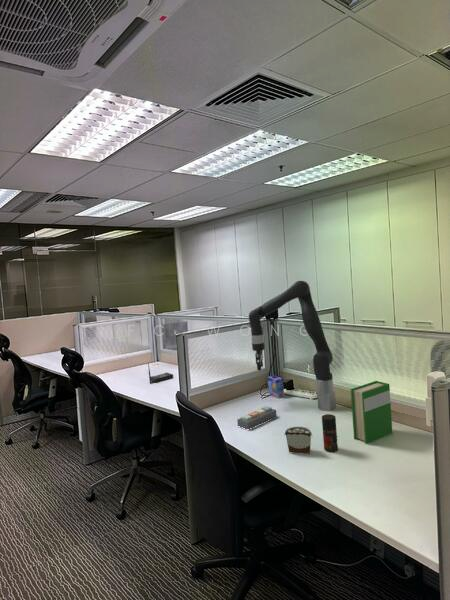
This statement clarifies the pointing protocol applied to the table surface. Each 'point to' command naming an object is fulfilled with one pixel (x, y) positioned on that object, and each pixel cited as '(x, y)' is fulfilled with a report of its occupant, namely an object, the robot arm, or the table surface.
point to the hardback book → (371, 411)
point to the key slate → (267, 409)
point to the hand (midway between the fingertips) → (260, 368)
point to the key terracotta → (254, 415)
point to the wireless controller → (160, 377)
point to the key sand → (260, 412)
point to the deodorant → (329, 433)
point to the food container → (298, 439)
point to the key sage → (247, 418)
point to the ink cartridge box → (275, 386)
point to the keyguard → (257, 420)
